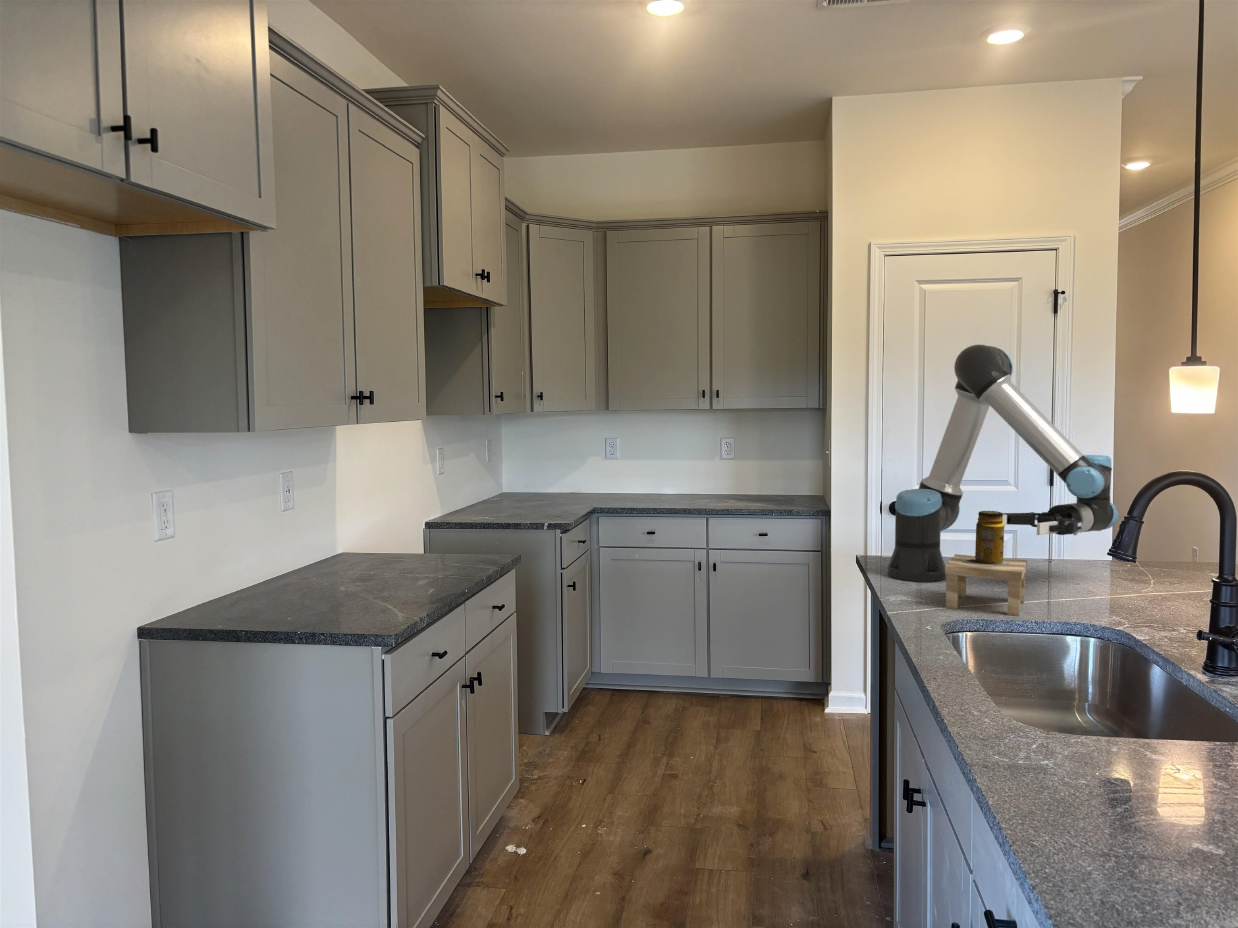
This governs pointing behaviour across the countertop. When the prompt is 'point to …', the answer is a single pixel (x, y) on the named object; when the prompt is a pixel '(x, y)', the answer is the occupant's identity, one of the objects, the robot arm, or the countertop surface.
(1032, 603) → the countertop surface
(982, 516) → the condiment
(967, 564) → the stool
